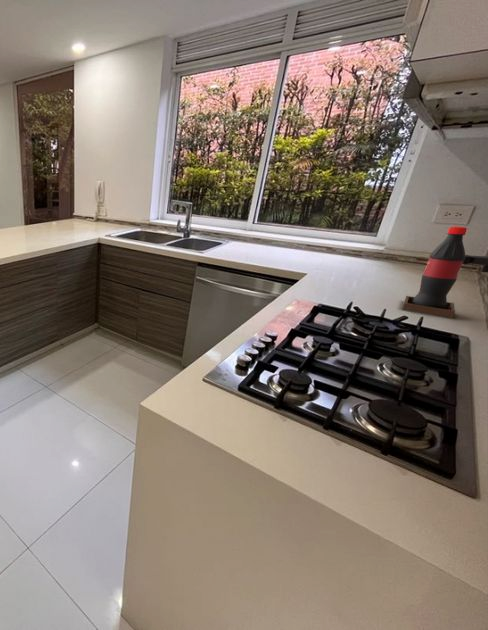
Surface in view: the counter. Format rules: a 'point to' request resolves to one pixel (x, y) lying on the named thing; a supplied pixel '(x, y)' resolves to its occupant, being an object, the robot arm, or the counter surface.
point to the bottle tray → (429, 308)
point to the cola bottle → (442, 270)
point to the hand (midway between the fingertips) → (464, 263)
